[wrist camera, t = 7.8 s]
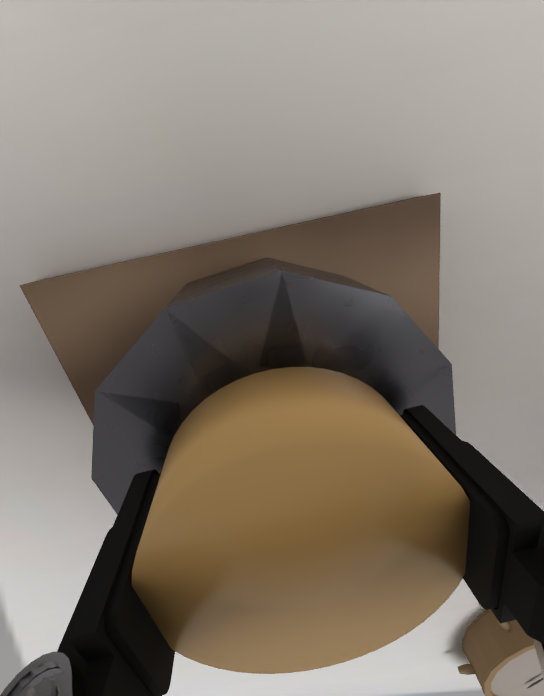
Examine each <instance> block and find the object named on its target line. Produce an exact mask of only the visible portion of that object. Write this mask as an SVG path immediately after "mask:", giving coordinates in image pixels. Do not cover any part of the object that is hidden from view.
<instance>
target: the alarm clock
mask: <svg viewBox="0 0 544 696" xmlns="http://www.w3.org/2000/svg"><path fill="white" fill-rule="evenodd" d="M462 645H463V651H464V653H465V654H466V656H467V658H468V660H469V662H470V664H464V665H461V666H459V667H458V670H459V672H460V674H467V675H469V674H476V676H477V679H478V681H479V683H480V685H481V687H482V690H483V692H484V694H485V696H544V679H543V675H542V671H541V668H540V664H539V660H538V657H537V653H536V649H535V645H534V642H533V638H531V637H529V636H528V635H527V634H526V633H525V631H524V630H523V629H522V627H521V626H520V624H519V623H518V622H517V620H513V621H509V622H505V623H501V624H500V623H499V621H498V620H497V618H496V617H495V615H494V614H493V612H492V611H491V609H489V610H486V611H485V612H484V613H482V614H481V615H480V616H479V617H478V618H477V619H476V620H475V621H474V622H473V623H472V624H471V625H470V626H469V627H468V629H467V631H466V633H465V635H464V637H463V639H462Z"/></svg>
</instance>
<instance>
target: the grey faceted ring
mask: <svg viewBox="0 0 544 696" xmlns="http://www.w3.org/2000/svg"><path fill="white" fill-rule="evenodd" d="M286 367H314V368H322V369H328V370H332V371H336V372H340V373H344V374H346V375H349V376H351V377H354V378H356V379H358V380H360V381H362V382H363V383H365V384H367V385H369V386H370V387H372V388H373V389H374V390H375V391H377V392H378V393H379V394H380V395H382V396H383V397H384V399H385V400H386V401H387V402H388V403H389V404H390V405H391V406H392V407H393V409H394V410H395V411H396V412H397V413H398V414H399V415H402V414H403V411H404V409H407V408H411V407H415V406H420V405H424V406H425V407H426V408H427V409H428V410H429V411H431V412H432V413H433V414H434V415H435V416H436V417H437V418H438V419H439V420H440V421H441V422H442V423H443V424H444V425H445V426H446V427H448V428H449V429H450V430H451V431H452V432H453V433H454V434H455V435H456V428H455V412H454V397H453V381H452V365H451V363H450V362H449V361H448V360H447V358H446V357H445V356H444V355H443V354H442V353H441V352H440V350H439V349H438V348H437V347H436V346H435V345H434V344H433V343H432V341H431V340H430V339H429V338H428V337H427V336H426V335H425V334H424V332H423V331H422V330H421V329H420V328H419V327H418V326H417V324H416V323H415V322H414V321H413V320H412V319H411V318H410V317H409V315H408V314H407V313H406V312H405V311H404V310H403V309H402V308H401V306H400V305H399V304H398V303H397V302H396V301H395V300H394V299H393V297H392V296H390V295H387V294H385V293H383V292H380V291H378V290H376V289H373V288H371V287H369V286H366V285H364V284H362V283H360V282H357V281H355V280H353V279H350V278H348V277H346V276H343V275H339V274H334V273H330V272H326V271H322V270H318V269H314V268H310V267H305V266H301V265H297V264H293V263H289V262H285V261H280V260H276V259H272V258H268V257H266V258H263V259H260V260H257V261H254V262H251V263H248V264H245V265H241V266H238V267H235V268H232V269H229V270H226V271H223V272H220V273H216V274H213V275H210V276H207V277H204V278H201V279H198V280H195V281H191V282H188V283H187V284H186V285H185V286H184V287H183V288H182V289H181V291H180V292H179V293H178V294H177V295H176V296H175V297H174V298H173V300H172V301H171V302H170V303H169V304H168V305H167V306H166V307H165V309H164V310H163V311H162V312H161V313H160V314H159V316H158V317H157V318H156V319H155V320H154V322H153V323H152V324H151V325H150V326H149V328H148V329H147V330H146V331H145V332H144V333H143V335H142V336H141V337H140V338H139V339H138V341H137V342H136V343H135V344H134V345H133V347H132V348H131V349H130V350H129V351H128V352H127V354H126V355H125V356H124V357H123V358H122V360H121V361H120V362H119V363H118V364H117V366H116V367H115V368H114V369H113V370H112V371H111V373H110V374H109V375H108V376H107V377H106V379H105V380H104V381H103V382H102V383H101V384H100V386H99V387H98V388H97V389H96V390H95V406H94V430H93V455H92V480H93V481H94V482H95V484H96V485H97V487H98V488H99V489H100V491H101V492H102V494H103V495H104V496H105V498H106V499H107V501H108V502H109V503H110V505H111V506H112V508H113V509H114V510H115V512H116V513H117V514H118V513H119V511H120V508H121V506H122V503H123V501H124V499H125V496H126V494H127V491H128V489H129V487H130V484H131V482H132V479H133V477H134V475H135V474H137V473H141V472H145V471H149V470H153V469H156V470H157V471H158V473H161V472H162V469H163V465H164V462H165V459H166V456H167V452H168V449H169V447H170V444H171V442H172V440H173V437H174V435H175V434H176V432H177V430H178V429H179V427H180V426H181V424H182V422H183V421H184V420H185V419H186V418H187V417H188V415H189V414H190V413H191V412H192V411H193V410H194V409H195V408H196V407H197V406H198V405H199V404H200V403H201V402H202V401H204V400H205V399H206V398H207V397H209V396H210V395H212V394H213V393H215V392H216V391H218V390H219V389H221V388H222V387H224V386H226V385H228V384H230V383H232V382H234V381H236V380H238V379H241V378H244V377H246V376H249V375H252V374H255V373H259V372H263V371H267V370H271V369H278V368H286Z"/></svg>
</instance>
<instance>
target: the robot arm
mask: <svg viewBox="0 0 544 696" xmlns="http://www.w3.org/2000/svg"><path fill="white" fill-rule="evenodd" d="M400 417H401V418H402V419H403V420H404V421H405V422H406V424H407V425H408V426H409V427H410V428H411V429H412V430H413V432H414V433H415V434H416V435H417V436H418V437H419V438H420V440H421V441H422V442H423V443H424V444H425V445H426V447H427V448H428V449H429V450H430V451H431V452H432V453H433V455H434V456H435V457H436V458H437V459H438V460H439V461H440V463H441V464H442V465H443V466H444V467H445V468H446V470H447V471H448V472H449V473H450V474H451V475H452V476H453V478H454V479H455V480H456V481H457V482H458V483H459V484H460V486H461V487H462V488H463V490H464V492H465V493H466V495H467V497H468V498H469V500H470V515H469V528H468V541H467V554H466V567H465V575H464V576H463V579H464V580H465V582H466V583H467V585H468V587H469V588H470V590H471V591H472V593H473V594H474V596H475V597H476V599H477V600H478V602H479V603H480V605H481V606H482V607H483V608H484V609H486V610H489V609H491V611H492V612H493V614H494V615H495V617H496V618H497V620H498V621H499V623H500V624H501V623H505V622H509V621H513V620H517V622H518V623H519V624H520V626H521V627H522V629H523V630H524V631H525V633H526V634H527V635H528V636H529V637H531V638H533V642H534V645H535V649H536V653H537V657H538V660H539V664H540V668H541V671H542V675H543V679H544V511H543V510H541V509H540V508H539V507H538V506H537V505H536V504H535V503H534V502H533V501H532V500H531V499H529V498H528V497H527V496H526V495H525V494H524V493H523V492H522V491H521V490H520V489H519V488H518V487H516V486H515V485H514V484H513V483H512V482H511V481H510V480H509V479H508V478H507V477H506V476H505V475H503V474H502V473H501V472H500V471H499V470H498V469H497V468H496V467H495V466H494V465H493V464H491V463H490V462H489V461H488V460H487V459H486V458H485V457H484V456H483V455H482V454H481V453H480V452H478V451H477V450H476V449H475V448H474V447H473V446H472V445H470V444H469V443H468V442H465V441H461V440H460V439H459V438H458V437H457V436H456V435H455V434H454V433H453V432H452V431H451V430H450V429H449V428H448V427H446V426H445V425H444V424H443V423H442V422H441V421H440V420H439V419H438V418H437V417H436V416H435V415H434V414H433V413H432V412H431V411H429V410H428V409H427V408H426V407H425V406H424V405H420V406H415V407H411V408H407V409H404V411H403V414H402V415H400ZM160 475H161V473H158V471H157V470H156V469H153V470H149V471H145V472H141V473H137V474H135V475H134V477H133V479H132V482H131V484H130V487H129V489H128V491H127V494H126V496H125V499H124V501H123V503H122V506H121V508H120V511H119V513H118V516H117V518H116V520H115V523H114V525H113V527H112V528H111V529H110V530H109V532H108V533H107V535H106V537H105V540H104V542H103V544H102V547H101V549H100V552H99V554H98V556H97V559H96V561H95V563H94V566H93V568H92V570H91V573H90V575H89V578H88V580H87V582H86V585H85V587H84V589H83V592H82V594H81V596H80V599H79V601H78V604H77V606H76V608H75V611H74V613H73V615H72V618H71V620H70V623H69V625H68V627H67V630H66V632H65V634H64V637H63V639H62V641H61V644H60V646H59V649H58V651H57V652H51V653H48V654H45V655H42V656H41V657H39V658H37V659H36V660H34V661H32V662H31V663H30V664H29V665H27V666H26V667H25V668H24V669H23V670H22V671H21V672H19V674H17V675H16V677H15V678H14V679H13V680H12V681H11V682H10V683H9V685H8V686H7V687H6V688H5V689H4V691H3V692H2V694H1V695H0V696H162V695H164V694H166V693H167V692H168V689H169V686H170V681H171V675H172V668H173V661H174V654H175V651H174V650H172V649H171V647H170V646H169V644H168V643H167V641H166V640H165V638H164V636H163V635H162V633H161V632H160V630H159V628H158V627H157V625H156V624H155V622H154V620H153V619H152V617H151V616H150V614H149V612H148V611H147V609H146V608H145V606H144V604H143V603H142V601H141V600H140V598H139V596H138V595H137V593H136V592H135V590H134V588H133V587H132V569H133V564H134V560H135V556H136V552H137V549H138V546H139V543H140V539H141V536H142V533H143V530H144V526H145V523H146V520H147V517H148V514H149V510H150V507H151V504H152V501H153V497H154V494H155V491H156V488H157V485H158V481H159V478H160Z"/></svg>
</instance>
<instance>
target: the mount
mask: <svg viewBox="0 0 544 696" xmlns="http://www.w3.org/2000/svg"><path fill="white" fill-rule="evenodd" d="M266 257H268V258H272V259H276V260H280V261H285V262H289V263H293V264H297V265H301V266H305V267H310V268H314V269H318V270H322V271H326V272H330V273H334V274H339V275H343V276H346V277H348V278H350V279H353V280H355V281H357V282H360V283H362V284H364V285H366V286H369V287H371V288H373V289H376V290H378V291H380V292H383V293H385V294H387V295H390V296H392V297H393V299H394V300H395V301H396V302H397V303H398V304H399V305H400V306H401V308H402V309H403V310H404V311H405V312H406V313H407V314H408V315H409V317H410V318H411V319H412V320H413V321H414V322H415V323H416V324H417V326H418V327H419V328H420V329H421V330H422V331H423V332H424V334H425V335H426V336H427V337H428V338H429V339H430V340H431V341H432V343H433V344H434V345H435V346H436V347H437V348H438V333H439V262H440V193H437V194H431V195H425V196H420V197H416V198H411V199H407V200H402V201H398V202H393V203H389V204H384V205H379V206H375V207H370V208H366V209H361V210H357V211H352V212H348V213H343V214H339V215H334V216H330V217H325V218H320V219H316V220H311V221H307V222H302V223H298V224H293V225H289V226H284V227H280V228H275V229H271V230H266V231H262V232H257V233H252V234H248V235H243V236H239V237H234V238H230V239H225V240H221V241H216V242H212V243H207V244H203V245H198V246H193V247H189V248H184V249H180V250H175V251H171V252H166V253H162V254H157V255H153V256H148V257H144V258H139V259H135V260H130V261H125V262H121V263H116V264H112V265H107V266H103V267H98V268H94V269H89V270H85V271H80V272H76V273H71V274H66V275H62V276H57V277H53V278H48V279H44V280H39V281H36V282H32V283H28V284H24V285H20V287H21V289H22V291H23V293H24V295H25V297H26V298H27V300H28V302H29V304H30V306H31V308H32V310H33V312H34V314H35V316H36V317H37V319H38V321H39V323H40V325H41V327H42V329H43V331H44V333H45V334H46V336H47V338H48V340H49V342H50V344H51V346H52V348H53V350H54V352H55V353H56V355H57V357H58V359H59V361H60V363H61V365H62V367H63V369H64V370H65V372H66V374H67V376H68V378H69V380H70V382H71V384H72V386H73V387H74V389H75V391H76V393H77V395H78V397H79V399H80V401H81V403H82V405H83V406H84V408H85V410H86V412H87V414H88V416H89V418H90V420H91V422H92V423H93V425H94V406H95V390H96V389H97V388H98V387H99V386H100V384H101V383H102V382H103V381H104V380H105V379H106V377H107V376H108V375H109V374H110V373H111V371H112V370H113V369H114V368H115V367H116V366H117V364H118V363H119V362H120V361H121V360H122V358H123V357H124V356H125V355H126V354H127V352H128V351H129V350H130V349H131V348H132V347H133V345H134V344H135V343H136V342H137V341H138V339H139V338H140V337H141V336H142V335H143V333H144V332H145V331H146V330H147V329H148V328H149V326H150V325H151V324H152V323H153V322H154V320H155V319H156V318H157V317H158V316H159V314H160V313H161V312H162V311H163V310H164V309H165V307H166V306H167V305H168V304H169V303H170V302H171V301H172V300H173V298H174V297H175V296H176V295H177V294H178V293H179V292H180V291H181V289H182V288H183V287H184V286H185V285H186V284H187V283H188V282H191V281H195V280H198V279H201V278H204V277H207V276H210V275H213V274H216V273H220V272H223V271H226V270H229V269H232V268H235V267H238V266H241V265H245V264H248V263H251V262H254V261H257V260H260V259H263V258H266Z"/></svg>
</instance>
